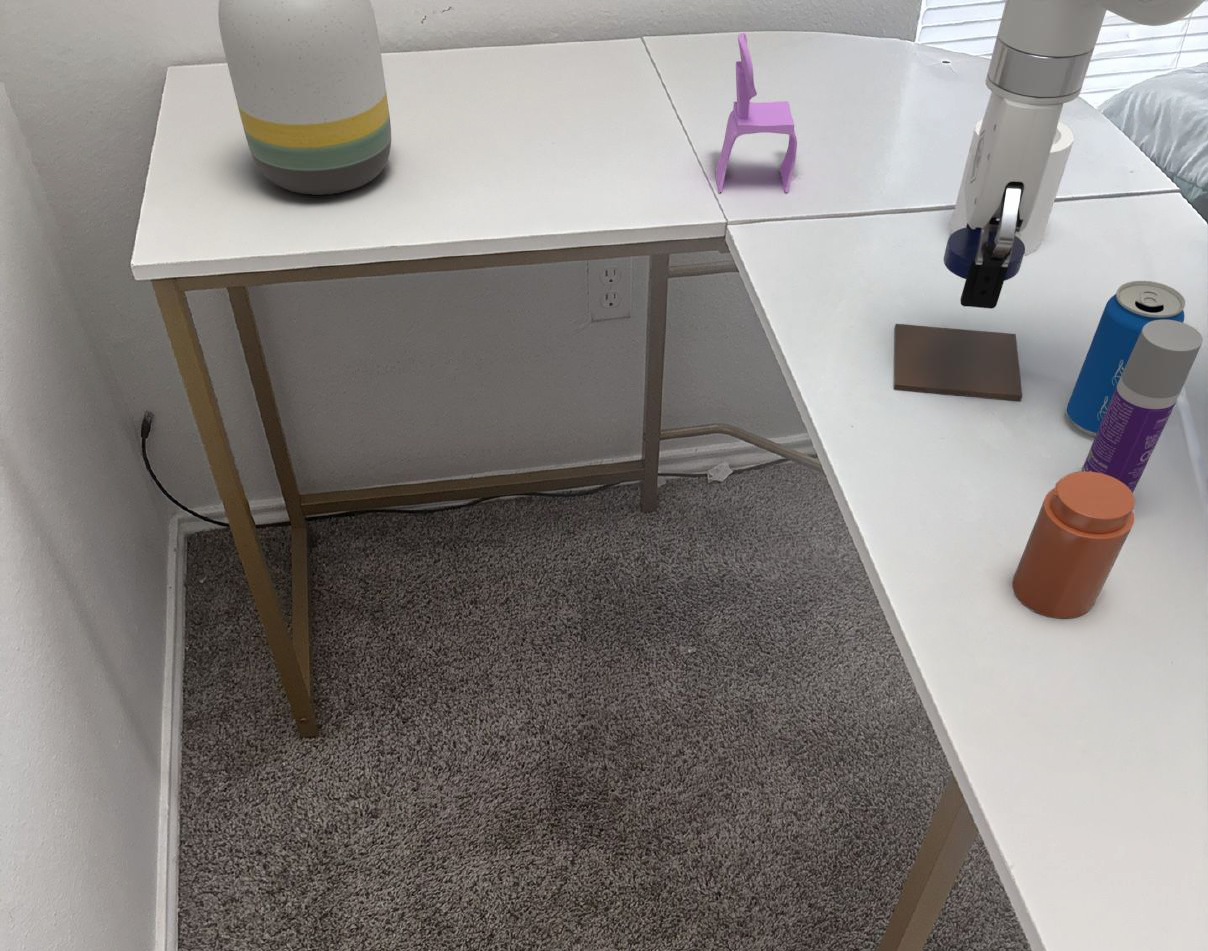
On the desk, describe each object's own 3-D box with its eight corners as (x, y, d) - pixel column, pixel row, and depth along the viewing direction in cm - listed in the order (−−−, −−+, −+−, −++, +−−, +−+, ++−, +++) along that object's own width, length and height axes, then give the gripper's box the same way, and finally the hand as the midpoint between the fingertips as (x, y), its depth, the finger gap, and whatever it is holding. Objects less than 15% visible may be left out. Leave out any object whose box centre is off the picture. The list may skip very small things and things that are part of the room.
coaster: (1014, 339, 110) (1015, 333, 110) (1020, 401, 104) (1022, 395, 103) (894, 328, 111) (895, 323, 111) (893, 389, 105) (894, 384, 104)
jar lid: (932, 270, 99) (936, 252, 98) (956, 237, 102) (961, 219, 101) (1006, 290, 97) (1012, 271, 96) (1029, 255, 100) (1034, 237, 99)
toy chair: (793, 196, 128) (812, 50, 116) (718, 197, 128) (730, 50, 116) (785, 165, 133) (803, 21, 121) (714, 165, 133) (724, 22, 121)
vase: (296, 223, 125) (239, -31, 105) (233, 169, 133) (170, -76, 114) (423, 182, 131) (392, -65, 111) (356, 133, 139) (315, -105, 120)
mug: (1052, 275, 118) (1087, 170, 109) (957, 271, 118) (984, 166, 110) (1034, 215, 126) (1065, 113, 117) (944, 211, 126) (969, 110, 118)
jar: (1091, 567, 90) (1136, 471, 82) (1099, 623, 86) (1147, 527, 78) (1010, 558, 90) (1047, 462, 83) (1014, 613, 86) (1053, 517, 79)
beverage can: (1061, 435, 100) (1110, 310, 91) (1065, 397, 104) (1112, 273, 94) (1134, 448, 99) (1191, 323, 90) (1135, 408, 103) (1190, 284, 93)
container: (1125, 518, 93) (1202, 356, 81) (1069, 505, 94) (1137, 344, 82) (1131, 486, 96) (1206, 325, 84) (1076, 474, 97) (1143, 313, 85)
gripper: (985, 22, 92) (933, 235, 107) (995, 107, 82) (936, 330, 96) (1076, 28, 92) (1011, 242, 106) (1097, 115, 81) (1022, 338, 96)
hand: (976, 282), depth 101 cm, fingers closed on jar lid, 6 cm apart
